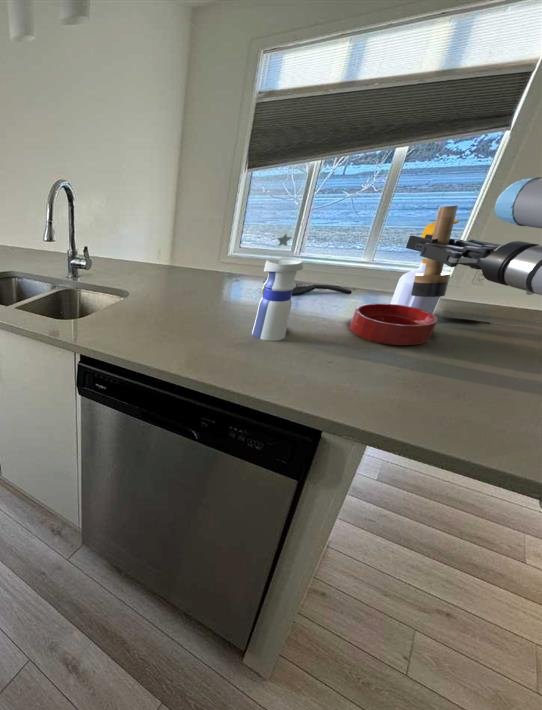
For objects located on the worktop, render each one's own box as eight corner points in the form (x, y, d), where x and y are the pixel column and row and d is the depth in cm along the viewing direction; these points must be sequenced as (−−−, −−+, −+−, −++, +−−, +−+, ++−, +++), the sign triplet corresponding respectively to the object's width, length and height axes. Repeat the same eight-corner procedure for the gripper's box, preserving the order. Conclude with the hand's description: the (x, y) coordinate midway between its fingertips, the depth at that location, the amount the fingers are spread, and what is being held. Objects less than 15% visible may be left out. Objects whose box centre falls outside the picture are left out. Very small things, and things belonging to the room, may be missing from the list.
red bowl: (424, 328, 102) (433, 307, 99) (431, 352, 91) (441, 330, 89) (349, 319, 110) (355, 300, 107) (347, 341, 100) (355, 320, 97)
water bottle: (242, 331, 109) (260, 235, 97) (270, 326, 111) (291, 231, 98) (263, 343, 102) (286, 241, 90) (293, 337, 103) (319, 236, 91)
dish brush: (441, 293, 92) (463, 205, 86) (447, 296, 88) (471, 204, 82) (409, 293, 95) (427, 208, 89) (413, 296, 91) (433, 207, 85)
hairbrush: (357, 288, 122) (265, 282, 130) (353, 300, 124) (262, 293, 132) (350, 280, 129) (263, 275, 137) (346, 292, 131) (260, 286, 139)
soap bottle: (437, 322, 104) (483, 222, 92) (395, 321, 107) (434, 223, 94) (420, 310, 112) (459, 215, 99) (380, 309, 114) (414, 217, 102)
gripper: (469, 290, 75) (376, 260, 95) (559, 283, 74) (446, 254, 94) (488, 248, 71) (387, 227, 91) (583, 240, 70) (460, 220, 91)
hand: (417, 241), depth 93 cm, fingers closed on dish brush, 3 cm apart
